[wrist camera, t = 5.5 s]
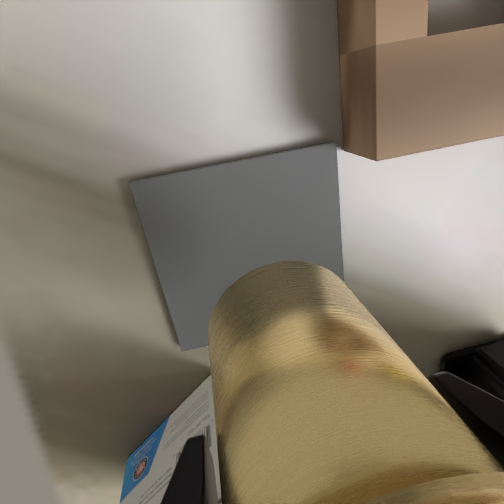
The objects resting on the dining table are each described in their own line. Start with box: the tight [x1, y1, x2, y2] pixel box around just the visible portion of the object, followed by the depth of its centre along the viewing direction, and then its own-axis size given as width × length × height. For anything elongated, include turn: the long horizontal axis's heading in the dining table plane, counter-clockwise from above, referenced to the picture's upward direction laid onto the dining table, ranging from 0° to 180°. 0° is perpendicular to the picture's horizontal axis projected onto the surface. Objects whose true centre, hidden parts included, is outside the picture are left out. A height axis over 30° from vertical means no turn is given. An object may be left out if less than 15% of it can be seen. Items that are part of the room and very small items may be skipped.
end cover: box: [208, 261, 504, 504], centre depth 8 cm, size 6×6×8 cm
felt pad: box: [129, 141, 344, 351], centre depth 17 cm, size 9×9×1 cm
